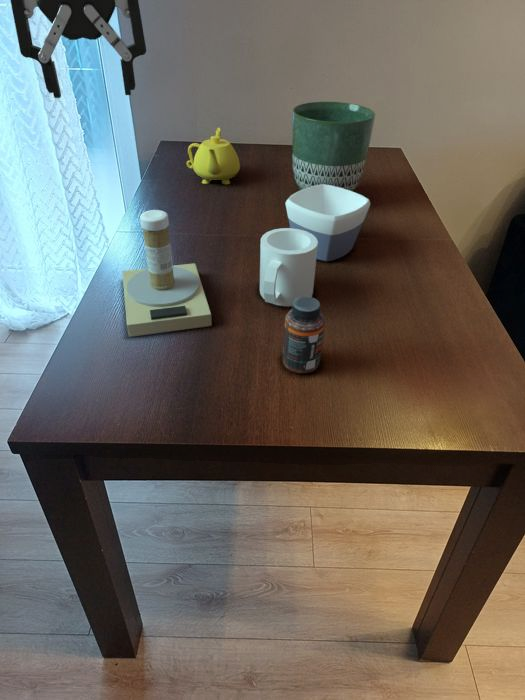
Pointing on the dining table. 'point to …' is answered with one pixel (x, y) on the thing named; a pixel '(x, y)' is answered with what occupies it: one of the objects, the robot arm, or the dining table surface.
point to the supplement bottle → (303, 335)
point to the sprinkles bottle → (158, 248)
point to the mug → (287, 265)
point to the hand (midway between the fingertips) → (93, 95)
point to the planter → (330, 143)
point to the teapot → (214, 159)
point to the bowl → (328, 217)
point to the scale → (165, 302)
